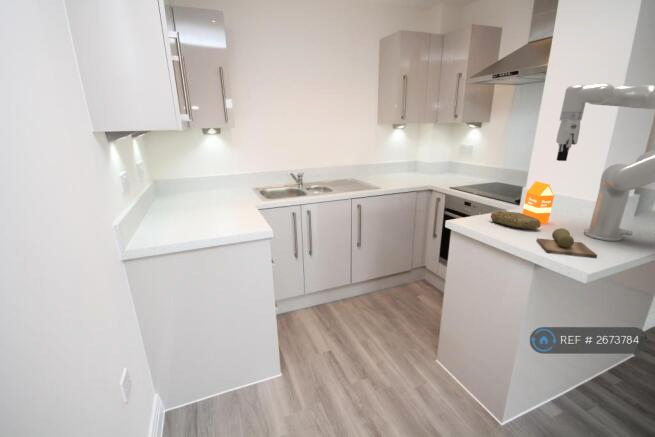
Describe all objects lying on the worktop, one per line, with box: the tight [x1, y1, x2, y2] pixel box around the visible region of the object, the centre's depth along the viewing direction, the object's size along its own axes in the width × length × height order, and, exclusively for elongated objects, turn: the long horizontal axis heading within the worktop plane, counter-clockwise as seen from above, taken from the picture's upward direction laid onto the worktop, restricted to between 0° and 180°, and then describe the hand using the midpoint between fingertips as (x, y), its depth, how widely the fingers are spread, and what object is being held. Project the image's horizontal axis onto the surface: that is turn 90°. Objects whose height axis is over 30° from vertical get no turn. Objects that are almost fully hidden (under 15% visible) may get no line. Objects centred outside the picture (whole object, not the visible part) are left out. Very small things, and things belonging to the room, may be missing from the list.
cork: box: [551, 227, 575, 248], centre depth 123 cm, size 6×6×11 cm
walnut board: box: [536, 237, 598, 259], centre depth 122 cm, size 16×13×1 cm
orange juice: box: [522, 180, 555, 225], centre depth 153 cm, size 8×9×20 cm
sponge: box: [490, 210, 542, 230], centre depth 149 cm, size 13×8×20 cm
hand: (561, 160), depth 136 cm, fingers closed
